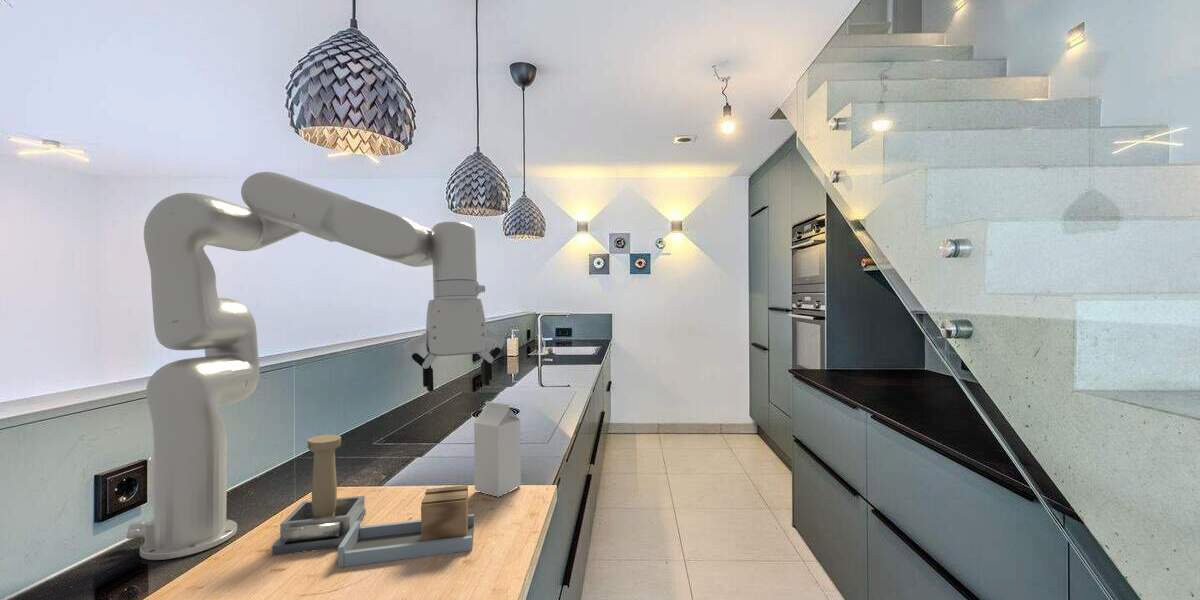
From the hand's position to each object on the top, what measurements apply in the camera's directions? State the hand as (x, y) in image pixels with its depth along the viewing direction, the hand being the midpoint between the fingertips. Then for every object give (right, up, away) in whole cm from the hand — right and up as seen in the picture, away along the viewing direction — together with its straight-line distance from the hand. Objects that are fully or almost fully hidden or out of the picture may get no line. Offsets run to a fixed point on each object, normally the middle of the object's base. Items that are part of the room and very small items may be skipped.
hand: (458, 387), depth 83 cm
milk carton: (+3, -26, +19) cm, 33 cm away
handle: (-24, -25, +1) cm, 35 cm away
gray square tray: (-24, -26, -1) cm, 35 cm away
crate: (-1, -25, -3) cm, 26 cm away
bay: (-6, -26, -5) cm, 27 cm away
